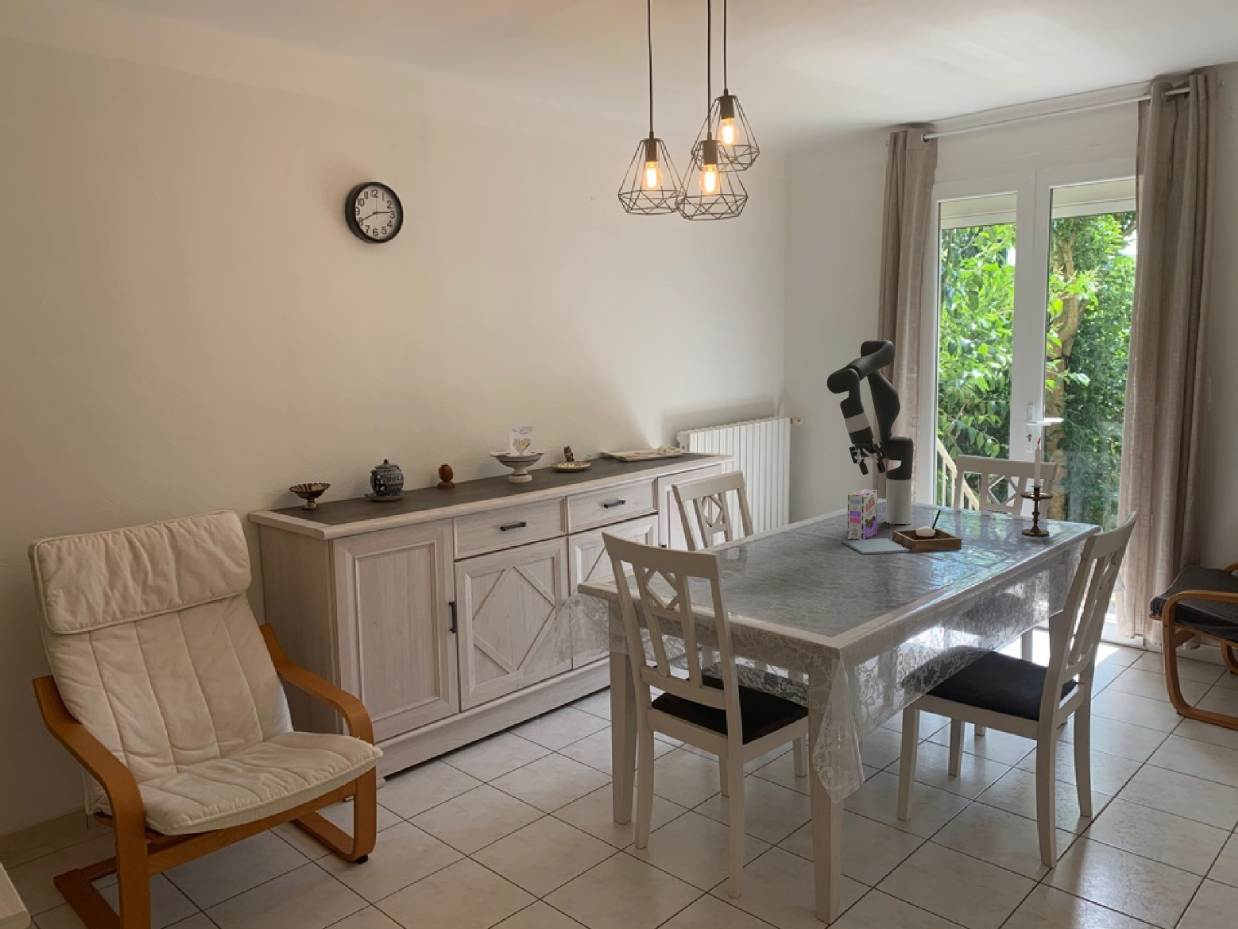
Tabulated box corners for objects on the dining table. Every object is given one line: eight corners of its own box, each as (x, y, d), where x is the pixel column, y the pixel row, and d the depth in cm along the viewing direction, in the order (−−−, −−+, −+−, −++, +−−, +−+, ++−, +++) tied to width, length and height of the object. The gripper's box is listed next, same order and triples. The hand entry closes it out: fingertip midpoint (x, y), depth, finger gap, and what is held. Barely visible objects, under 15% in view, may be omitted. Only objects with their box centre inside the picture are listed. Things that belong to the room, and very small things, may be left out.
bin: (892, 540, 326) (892, 530, 326) (938, 538, 328) (938, 528, 327) (912, 551, 309) (913, 541, 309) (961, 548, 311) (961, 538, 311)
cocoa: (910, 546, 318) (909, 512, 316) (914, 542, 324) (913, 508, 322) (939, 547, 314) (938, 513, 312) (942, 543, 319) (941, 509, 317)
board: (843, 542, 325) (843, 540, 325) (887, 540, 326) (887, 538, 326) (862, 554, 307) (862, 552, 307) (909, 552, 309) (909, 549, 309)
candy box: (862, 541, 326) (863, 495, 324) (846, 539, 330) (847, 493, 328) (877, 534, 337) (878, 489, 335) (862, 532, 341) (862, 488, 339)
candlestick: (1045, 530, 335) (1049, 434, 330) (1056, 537, 325) (1060, 437, 320) (1014, 530, 336) (1017, 434, 332) (1024, 537, 326) (1027, 438, 321)
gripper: (881, 421, 304) (896, 468, 306) (853, 426, 317) (868, 471, 319) (864, 429, 301) (880, 476, 303) (837, 433, 314) (852, 478, 316)
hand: (874, 473), depth 311 cm, fingers open, 8 cm apart
